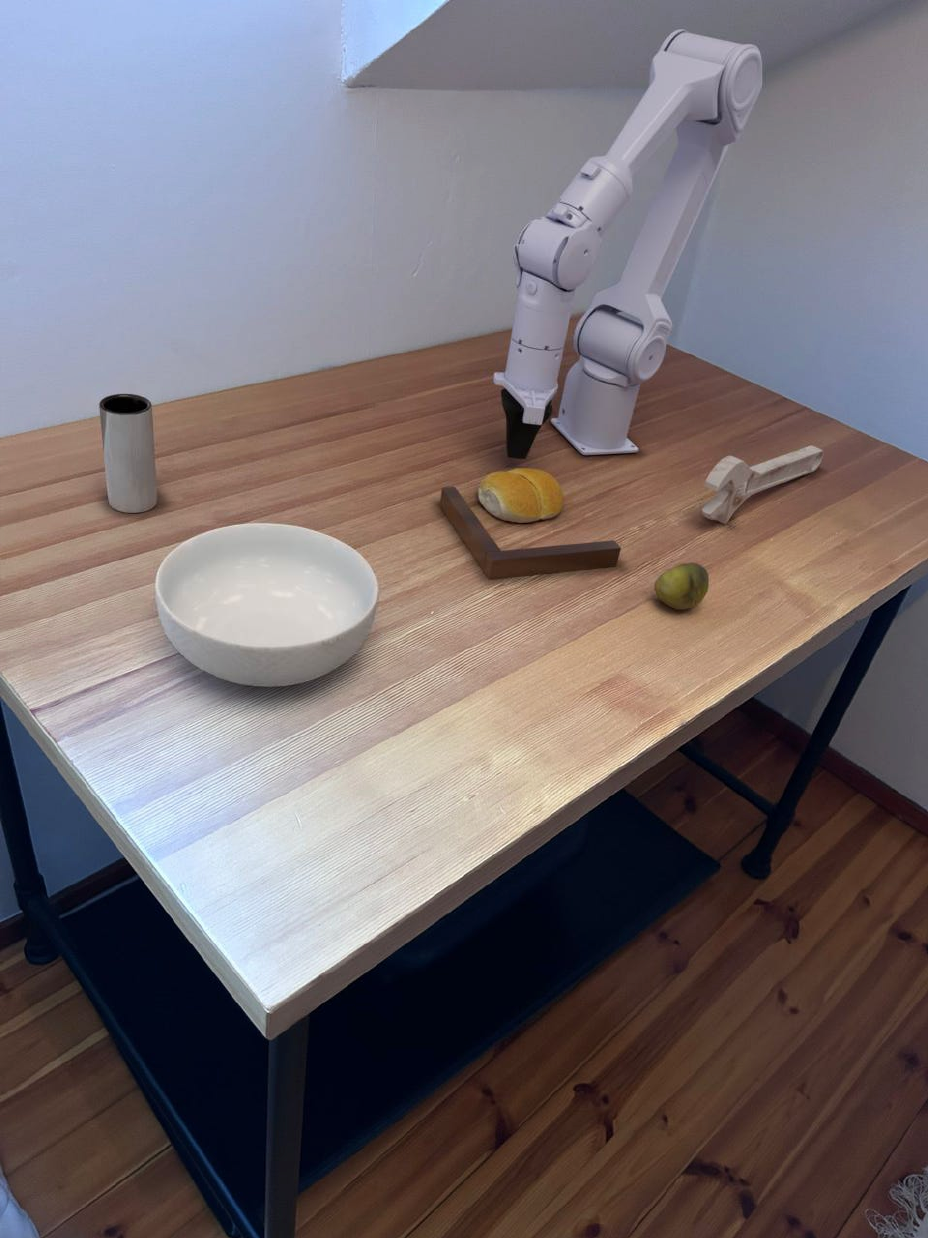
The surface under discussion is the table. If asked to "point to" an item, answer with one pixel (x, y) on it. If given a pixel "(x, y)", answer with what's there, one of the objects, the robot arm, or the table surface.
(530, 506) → the bread roll
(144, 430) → the grey cylindrical vase
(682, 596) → the lime
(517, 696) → the table surface
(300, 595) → the cereal bowl
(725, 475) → the wrench
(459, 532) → the corner stop
